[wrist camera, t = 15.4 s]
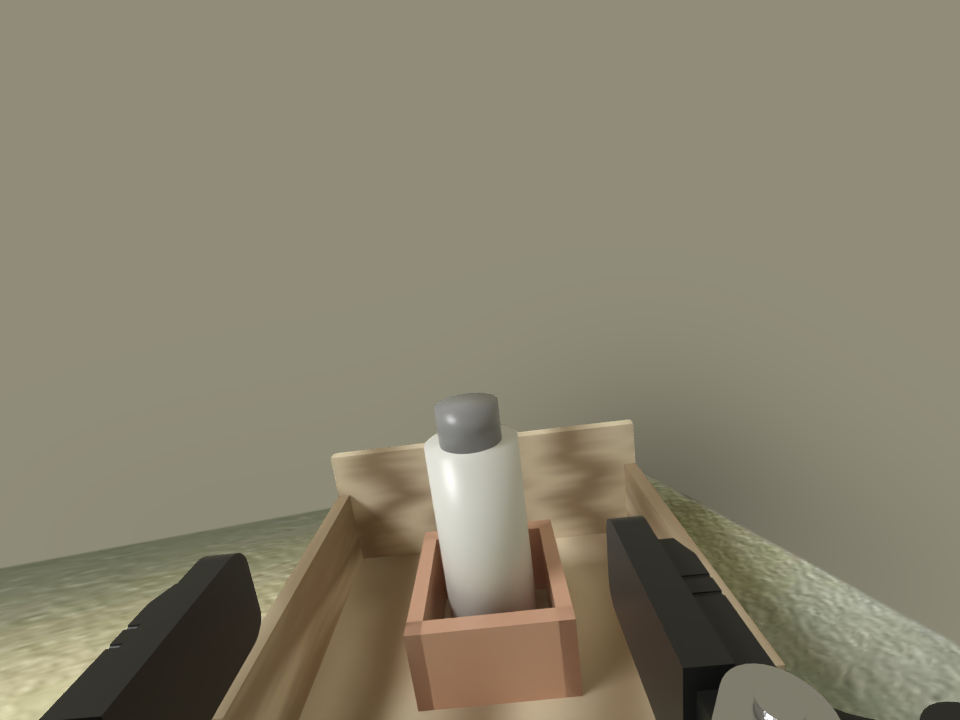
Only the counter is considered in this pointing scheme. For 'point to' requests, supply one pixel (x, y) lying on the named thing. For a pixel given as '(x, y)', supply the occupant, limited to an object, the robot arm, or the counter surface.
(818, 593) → the counter surface
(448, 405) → the white plastic bottle
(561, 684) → the wooden tray
